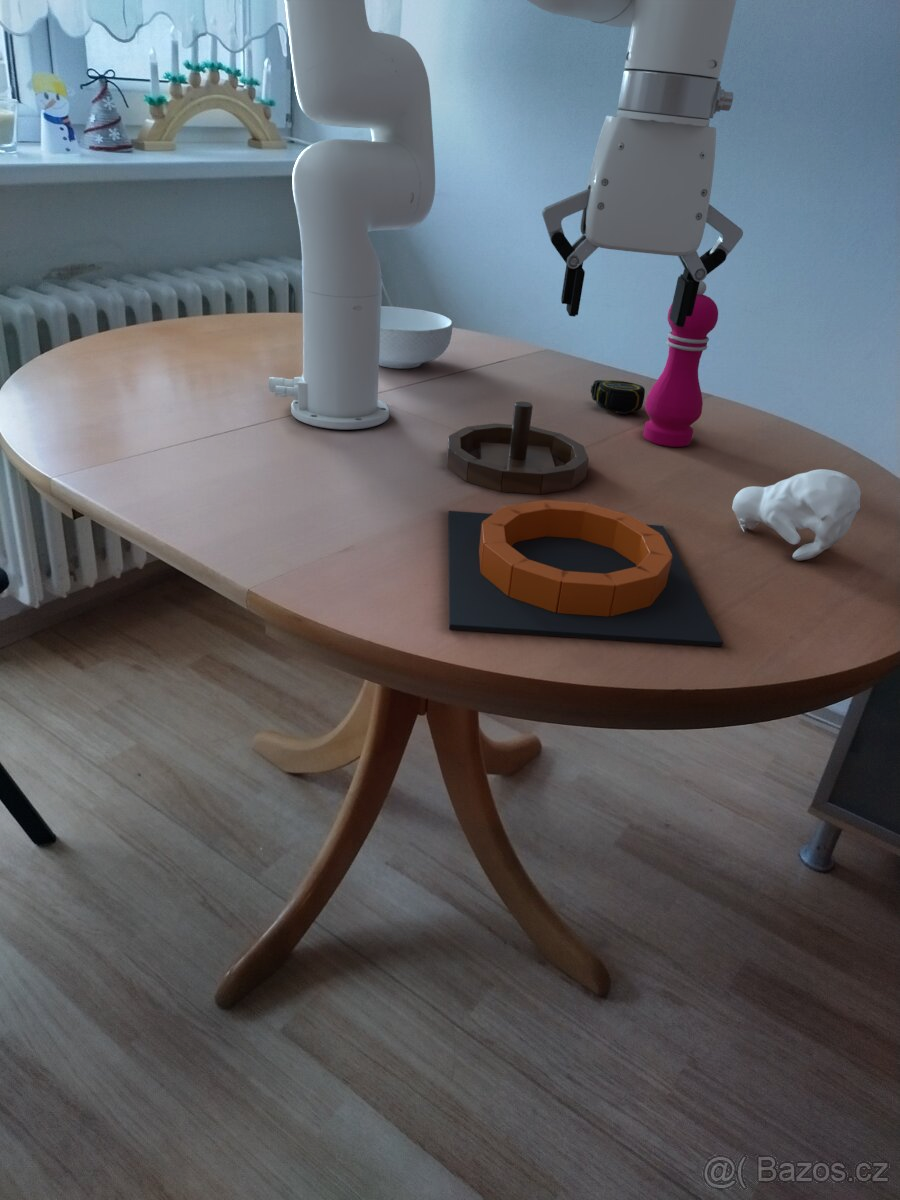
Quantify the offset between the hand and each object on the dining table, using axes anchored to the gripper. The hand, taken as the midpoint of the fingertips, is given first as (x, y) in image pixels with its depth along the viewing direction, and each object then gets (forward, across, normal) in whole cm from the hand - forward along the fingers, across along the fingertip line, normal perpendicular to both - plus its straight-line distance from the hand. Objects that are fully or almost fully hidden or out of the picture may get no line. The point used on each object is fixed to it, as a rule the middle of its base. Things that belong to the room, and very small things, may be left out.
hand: (624, 318), depth 78 cm
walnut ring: (+21, +6, -14) cm, 26 cm away
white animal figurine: (+20, -20, +2) cm, 28 cm away
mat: (+20, +3, +12) cm, 24 cm away
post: (+21, +6, -14) cm, 26 cm away
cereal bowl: (+22, +23, -56) cm, 64 cm away
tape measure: (+21, -9, -40) cm, 46 cm away
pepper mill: (+21, -15, -28) cm, 38 cm away
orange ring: (+20, +3, +12) cm, 23 cm away
